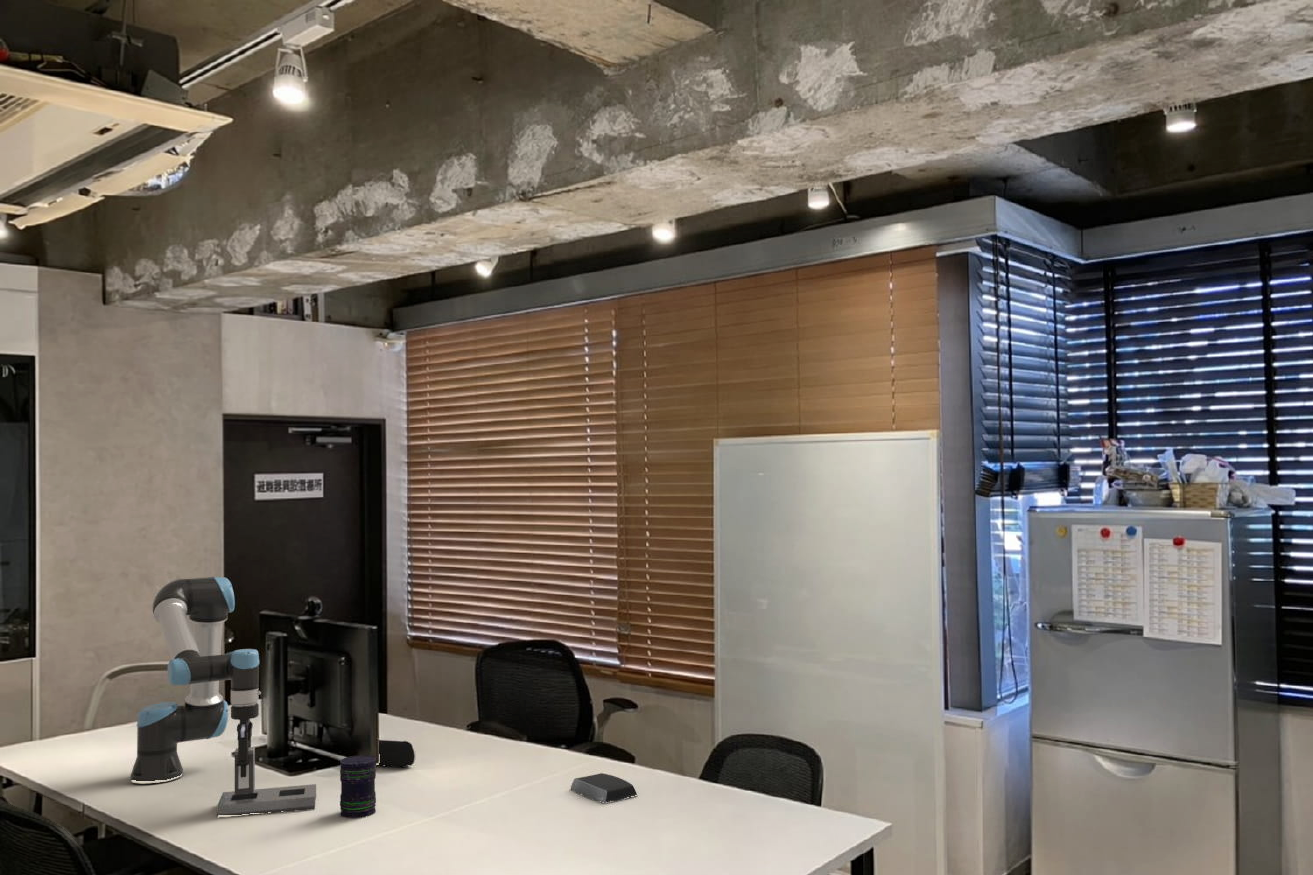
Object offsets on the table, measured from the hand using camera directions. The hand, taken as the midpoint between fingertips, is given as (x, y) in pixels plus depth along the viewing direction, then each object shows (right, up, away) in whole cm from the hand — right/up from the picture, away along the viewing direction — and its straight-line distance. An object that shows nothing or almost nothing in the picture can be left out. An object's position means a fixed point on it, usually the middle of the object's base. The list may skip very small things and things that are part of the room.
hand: (244, 785), depth 301 cm
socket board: (+6, -7, +2) cm, 9 cm away
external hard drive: (+103, -6, +10) cm, 104 cm away
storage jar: (+35, -6, -6) cm, 36 cm away
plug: (0, -2, 0) cm, 2 cm away
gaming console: (+30, -9, +45) cm, 55 cm away
